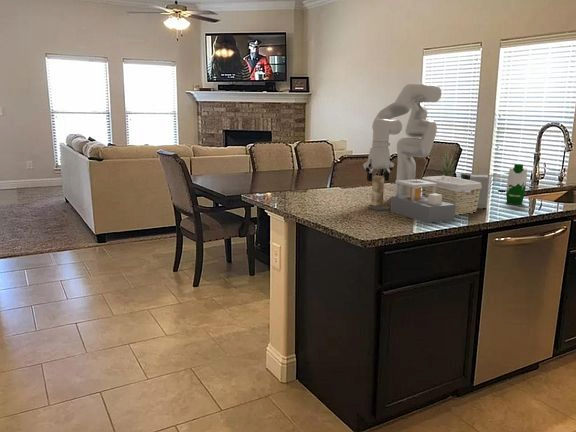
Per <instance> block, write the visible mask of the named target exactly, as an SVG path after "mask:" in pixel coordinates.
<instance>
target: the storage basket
mask: <svg viewBox="0 0 576 432" xmlns="http://www.w3.org/2000/svg"><path fill="white" fill-rule="evenodd" d="M421 180H424V181H429V182H433V183H437V186H436V187H435V193H436V194H440V195H442V201H443V202H447V203H451V204H455V215H454V216H459V214H462V215H466V214H465V213H470V214H474V213H473V212H475V213H476V212H477V209H478V208H477V204H478V200H479V193H480V189H481V188H482V186H481V183H479V182H476V181H471V180H466V179H461V177H455V176H452V177H449V176H443V175H435V176H423V177H421ZM432 189H433V186H423V187H421V196H423V197H427V198H428V194H432ZM475 205H476V206H475Z"/></svg>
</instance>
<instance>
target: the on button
mask: <svg viewBox="0 0 576 432" xmlns="http://www.w3.org/2000/svg"><path fill="white" fill-rule="evenodd" d="M441 203H442V195H440V194H436V193H435V194H428V204H432V205H440V204H441Z"/></svg>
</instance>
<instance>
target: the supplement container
mask: <svg viewBox="0 0 576 432" xmlns="http://www.w3.org/2000/svg"><path fill="white" fill-rule="evenodd" d="M470 175H480V174H478V173H472V172H462V173H461V174H460V179H466V180H470Z"/></svg>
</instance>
